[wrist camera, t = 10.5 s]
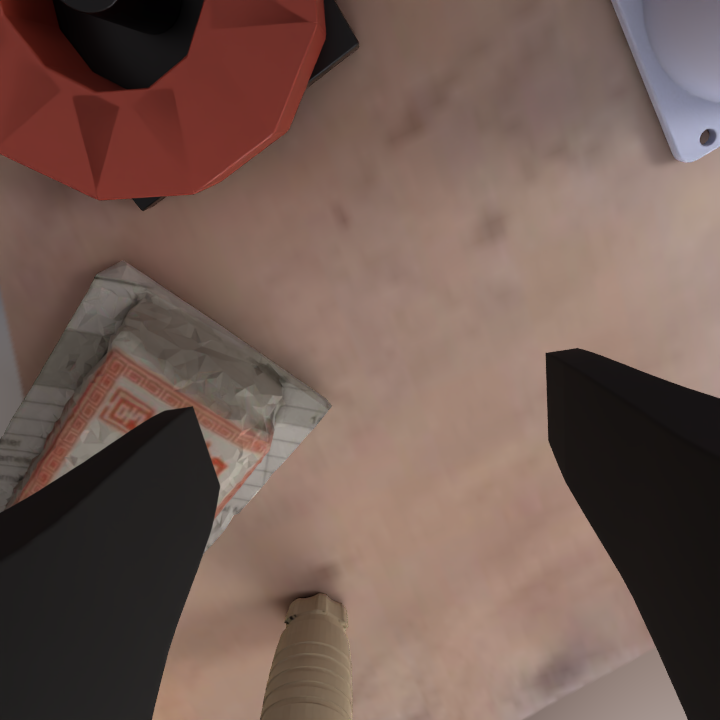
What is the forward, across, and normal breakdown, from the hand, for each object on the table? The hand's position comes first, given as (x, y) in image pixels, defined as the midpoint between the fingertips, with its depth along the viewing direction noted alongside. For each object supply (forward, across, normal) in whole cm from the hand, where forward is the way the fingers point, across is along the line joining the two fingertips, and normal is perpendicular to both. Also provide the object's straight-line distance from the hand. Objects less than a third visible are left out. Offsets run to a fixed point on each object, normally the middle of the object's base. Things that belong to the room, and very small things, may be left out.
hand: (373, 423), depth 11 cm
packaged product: (+11, +12, +7) cm, 18 cm away
